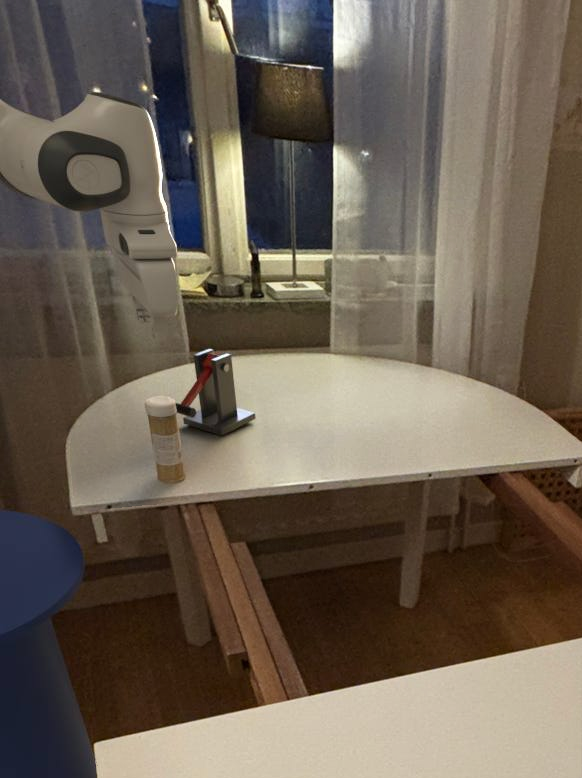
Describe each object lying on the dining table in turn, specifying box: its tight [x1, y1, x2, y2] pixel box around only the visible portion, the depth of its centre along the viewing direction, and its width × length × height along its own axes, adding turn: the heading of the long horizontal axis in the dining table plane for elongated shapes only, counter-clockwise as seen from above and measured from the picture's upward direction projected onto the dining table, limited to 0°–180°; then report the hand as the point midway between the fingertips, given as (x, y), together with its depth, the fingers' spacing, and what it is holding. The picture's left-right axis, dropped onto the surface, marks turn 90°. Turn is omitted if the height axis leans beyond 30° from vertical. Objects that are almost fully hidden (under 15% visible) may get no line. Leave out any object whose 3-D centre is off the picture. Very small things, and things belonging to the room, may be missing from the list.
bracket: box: [182, 348, 257, 436], centre depth 144 cm, size 10×9×13 cm
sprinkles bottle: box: [144, 395, 186, 485], centre depth 124 cm, size 5×5×13 cm
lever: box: [175, 353, 220, 418], centre depth 139 cm, size 13×5×2 cm
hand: (152, 330), depth 118 cm, fingers open, 8 cm apart
